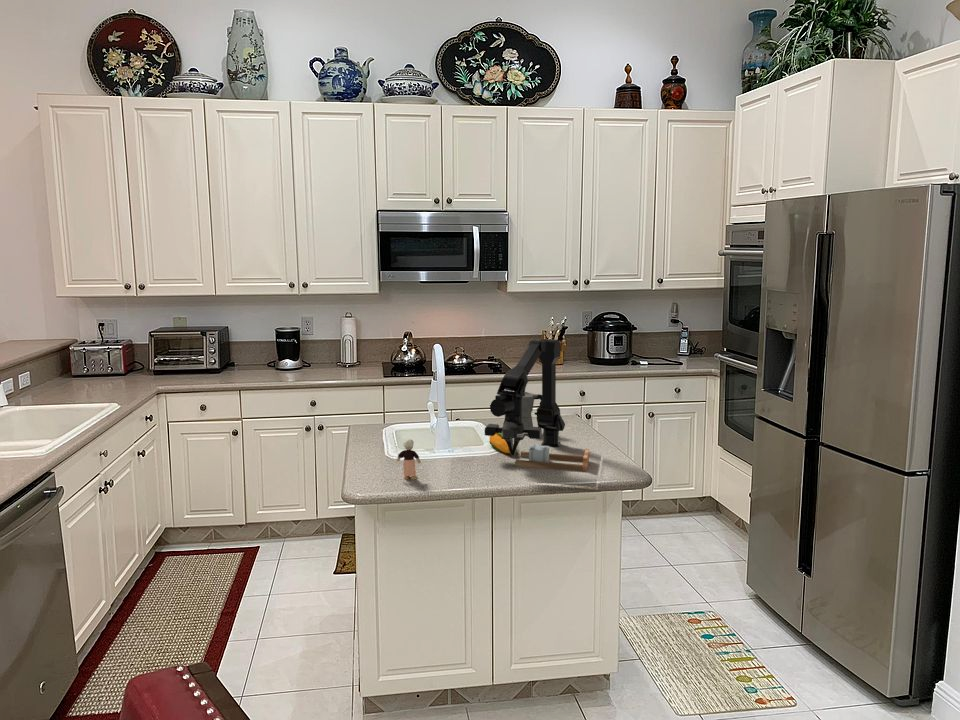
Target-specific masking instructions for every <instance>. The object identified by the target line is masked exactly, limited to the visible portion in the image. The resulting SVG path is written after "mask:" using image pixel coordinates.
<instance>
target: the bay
mask: <svg viewBox="0 0 960 720" xmlns="http://www.w3.org/2000/svg"><path fill="white" fill-rule="evenodd" d="M520 458H523V459H524V458H526V459H529V451H520ZM523 459H516V460H515V467H524V468H540V469H549V470H562V471H563V470H565V471H577V472H578V471H580V472H588V466H589V461H590V448H585V451H584V453H583V455H577V454H564V453H550V452H549V460H554V461H566V462H567V461H568V462H569V461H570V462H580V463H582V464H579V463H577V464H576V463H565V462H564V463H563V462H552V461H551V462H550V461H549V462H539V461H529V460H523Z"/></svg>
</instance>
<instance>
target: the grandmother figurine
mask: <svg viewBox="0 0 960 720" xmlns="http://www.w3.org/2000/svg"><path fill="white" fill-rule="evenodd" d="M414 443H415V442H414V440H413V439H412V438H408V439H406V440H404V442H403V445H402V446H403V447H404V449H405V450H402V451H401V452H399V454H397V457H396V462H400V460H401V459H402V458H403V462H402V463H403V465H402V467H403V480H409V479H410V480H414V481H415V480H417V479H418V478H419V477H418V475H417V470H416V462H415V460H416V461H417V464H421V459H420V456H419V454H418V453H417V452H416V451H414V450H413V448H414Z"/></svg>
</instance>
